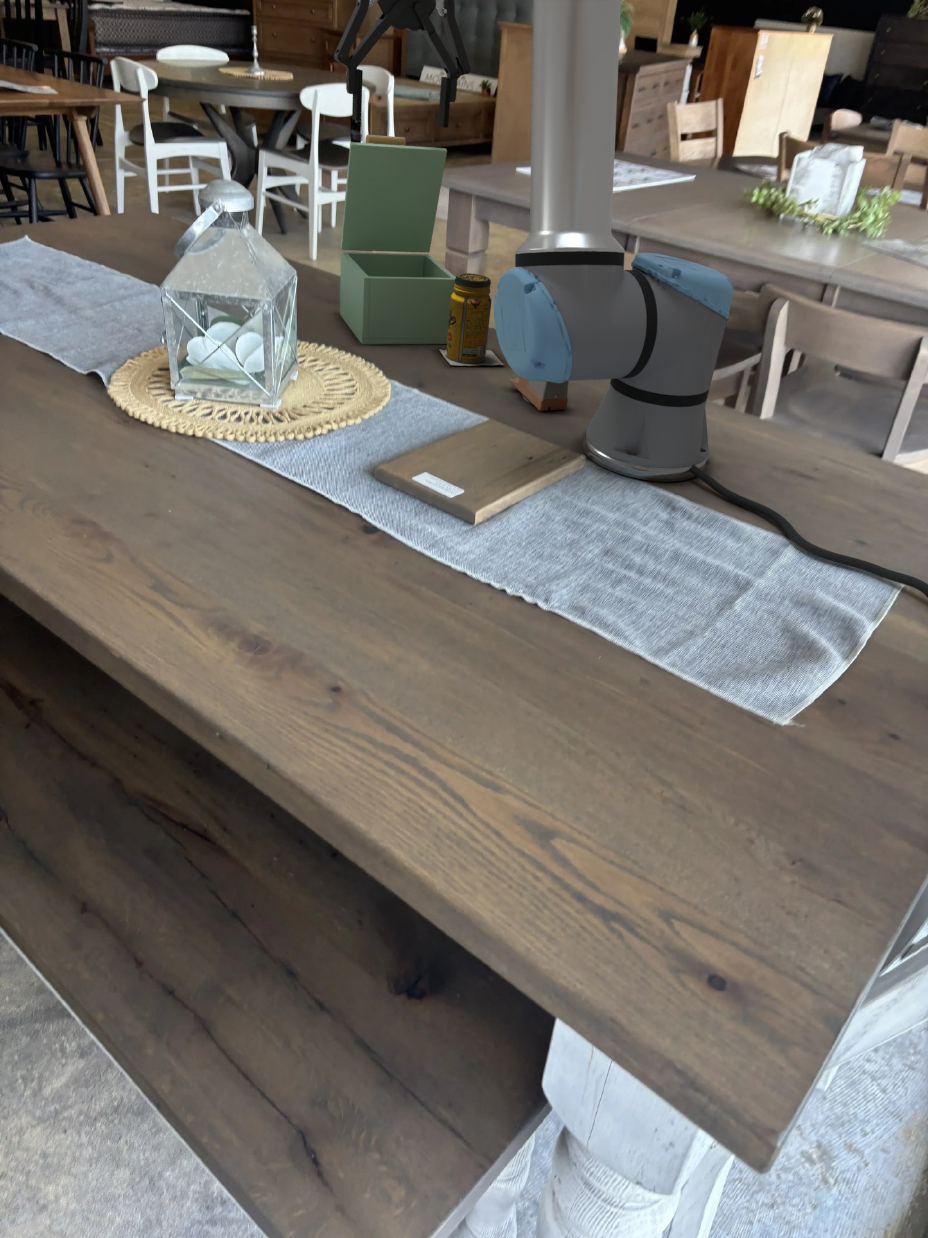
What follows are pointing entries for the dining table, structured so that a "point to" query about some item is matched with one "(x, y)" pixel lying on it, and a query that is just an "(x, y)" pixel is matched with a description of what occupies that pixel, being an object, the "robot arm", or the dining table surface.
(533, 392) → the electronic device
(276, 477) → the dining table surface
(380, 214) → the lid
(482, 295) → the condiment
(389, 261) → the chest
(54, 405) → the dining table surface
